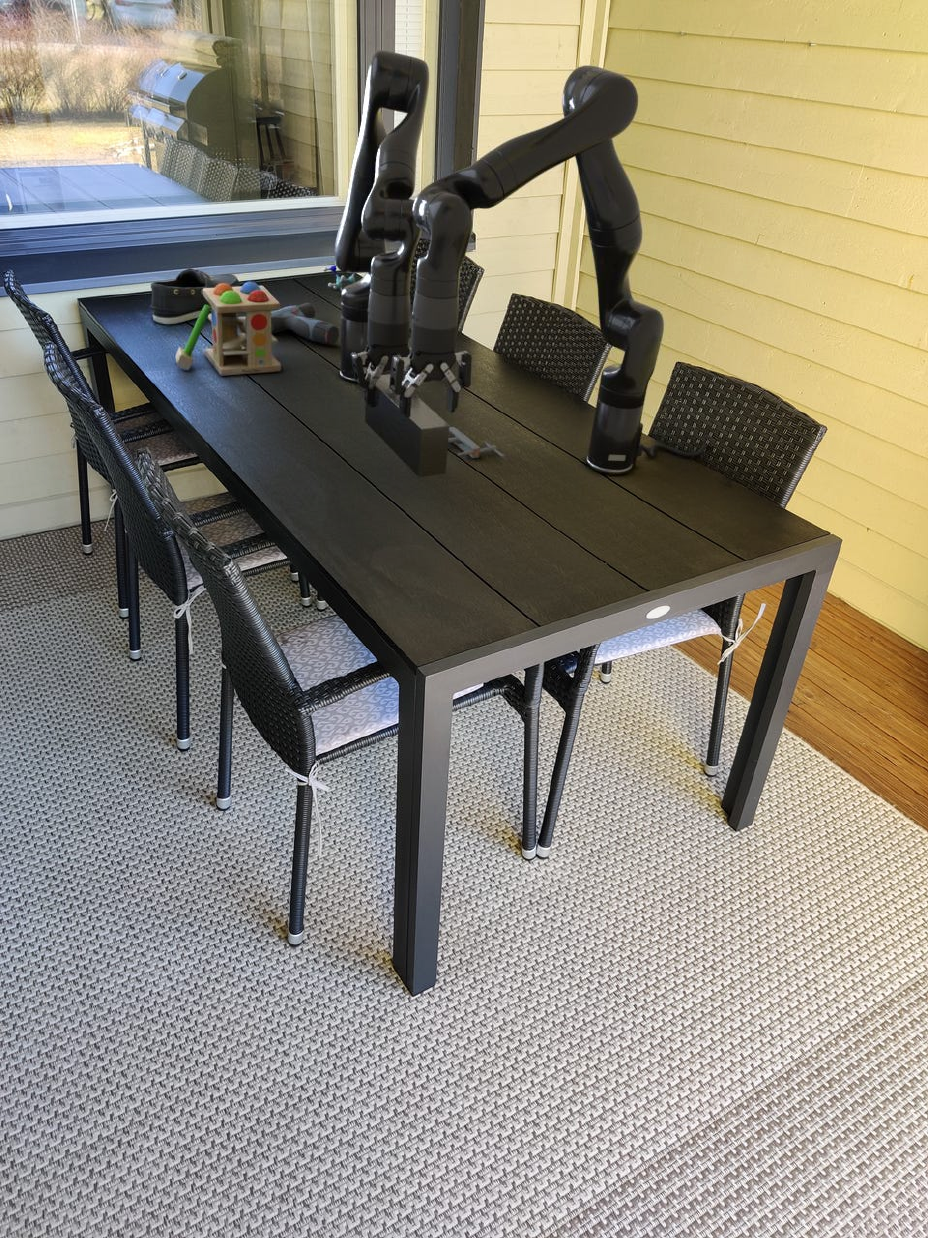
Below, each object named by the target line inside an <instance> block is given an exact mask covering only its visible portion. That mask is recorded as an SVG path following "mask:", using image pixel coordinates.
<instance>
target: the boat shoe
mask: <svg viewBox="0 0 928 1238" xmlns="http://www.w3.org/2000/svg"><path fill="white" fill-rule="evenodd" d="M221 283H226V284H228V285H230V286H231V287H242V286H241V282H240V281H239V279H238V277H237V276H236V275H235V274H232V273H224V274H217V275H214V276H209V275H208V274H207V273H206V272H204V271H203V270H199V269H194V268H186V269H183V270H182V271H181V272H179V273H178V274H177V276H176V277H175V279H173V280H172V279H171V280H165V281H161V280H159V281H153V282H151V283H150V289H151V304H150V308H151V309H152V310H153V312H152V318H153V321H154V322H157V323H158V324H164V325H175V324H180V323H183V322H187V321H190V320H195V319H198V318H199V316H200V314H201V311H202V309H203V307H204V305H208V306H210V307H211V305H210V304H209V302H208V301H207V300H206V299H205V297H204V296H203V289H204V288H215V287H216V286H217V285H218V284H221ZM210 312H211V310H210Z"/></svg>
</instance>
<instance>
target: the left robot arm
mask: <svg viewBox="0 0 928 1238" xmlns="http://www.w3.org/2000/svg"><path fill="white" fill-rule="evenodd" d="M429 88H430V68H429V65H428V63H427V62H426V61H425V60H424V59H421V58H419V57H415V56H412V55H411V56H410V55H407V54H402V53H399V52H396V51H395V52H394V51H390V50H386V49H379V50H376V51H375V52H374V54H373V55H372V57H371V58H370V62H369V66H368V70H367V76H366V82H365V91H364V92H365V93H364V100H363V106H362V107H363V108H362V115H361V122H360V128H359V132H358V133H359V134H358V138H357V143H356V147H355V151H354V156H353V160H352V165H351V170H350V177H349V183H348V190H347V195H346V200H345V206H344V210H343V213H342V217H341V220H340V223H339V227H338V231H337V233H336V238H335V242H334V243H335V244H334V263H335V262H336V265H337V266H336V268H337V269H338V270H340V271H341V272H343V273H346V274H353V273H355V274H364V276H363V277H362V278H360V279H359V280H357V281H355V283H353V284H352V283H350V284H349V285H347V286H345V287H343V288H342V289H343V290H342V291H341V307H340V308H341V310H340V311H341V312H340V314H341V315H340V322H341V323H340V370H339V376H340V377H341V378H342V380H345V381H348V382H352V383H357V384H358V385H359V387H361V388H364V398H363V399H364V402H365V404H366V403H367V404H368V406H369V407H370V408H372V407H374V406H375V389H374V387H375V385H376V383H377V380H378V379H379V378H380V376H381V375H383V373H387V372H391V364H392V357H393V356H394V355H397V356H399V357H409V355H410V353H411V347H410V346H409V342H410V341H409V340H410V333H411V330H412V326H411V327H410V325H411V324H410V323H411V279H412V277H411V276H412V268H413V267H412V266H413V261H414V256H415V253H416V249H417V246H418V243H419V241H420V238H421V234H422V232H423V230H421V229H420V228H419V227H418V226H417V225H416V223H415V221H414V219H413V214H412V210H413V204H414V202H415V199H412V196H413V195H414V192H415V189H416V176H417V175H416V174H417V158H418V150H419V145H420V140H421V135H422V130H423V125H424V119H425V113H426V108H427V103H428V101H427V100H428V96H429V90H430V89H429ZM382 109H384V110H390V111H393V112H398V113H403V114H405V117H404V118H403V119H402V120H401V121H400V123H398V124H397V125H396V126H395V127H394V128H393V129H392V130H391V131H390V132H389V133H388V131H387V128H386V126H385V123H384V119H383V114H382ZM390 242H391V243H401V246H399V248H398V249H397V250H394V251H390V252H387V243H390ZM410 369H411V367H410V365H408V366H407V368H406V370H405V371H404V373H403V381H404V380H405V376H406V375H407V373H408V372H409V370H410ZM416 377H417V376H416V375H415V377H414V379H415V378H416ZM402 383H403V382H402Z"/></svg>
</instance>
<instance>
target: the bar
mask: <svg viewBox="0 0 928 1238" xmlns="http://www.w3.org/2000/svg"><path fill="white" fill-rule="evenodd" d="M389 383H390V373H389V374H381V376H380V378H379V379H378V380H377V383H376V385H375V387H374V389H375V406H374V407H372V408H370V407H369V406H368V404H367V403H366V402H365V412H364V413H365V415H364V416H365V417H364V419H365V420H364V423H365V424H366V425H367V426H368V427H369V428H370V429H371V430H372V431H373V432H374V433H375V434H376V435H377V436H378V437H379V438H380V439H381V440H382V441H383V442H384V443H385V444H386V446H388V447H389V449H391V450H392V452H394V454H395V455H396V456H397V457H398V458H399V459H400V460H401V461H402V462H403V463H404V464H405V465H406V466H407V467H408V469H410V470H411V471H412V472H413V473H414V474H415V476H416V477H418V478H424V477H431V476H437V475H444V474H446V473H447V463H448V462H447V461H448V451H449V450H448V449H449V443H448V438H449V427H450V424H448V423H447V422H446V421H445V420H444V419H443V418H442V417H441V416H440V415H438V413H436V412H435V411H434V410H433V409H431V407H429V405H428V404H427V403H425V402H424V401H423V400H422V399H421V398H420V397H418V396H417V395H416V394H415V392H413V393H412V394H411V395H410V396H411V414H410V417H405V416H404V415H403V414H402V413H401V412H400V410H399V398H400V395H397V394H395V393H394V392H393V391H392V390H391V389H390V388H389Z"/></svg>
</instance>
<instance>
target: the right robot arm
mask: <svg viewBox="0 0 928 1238" xmlns="http://www.w3.org/2000/svg"><path fill="white" fill-rule="evenodd" d="M561 98H562V99H561V104H562V114H563V117H562V118H561V119H559V120H557V121H555V122H553V123H551V124H548V125H546V126H543V127H541V128H538V129H535V130H532V131H530V132H526V133H523V134H521V135H518V136H515V137H512V138H510V139H509V140H506V141H505V142H502V143H501V144H499V145H498V146H496V147H495V148H493V149H492V150H490V151H489V152H487V153H486V154H484V155H483V156H482V157H480V158H479V159H477V160H476V161H475V162H473V163H472V164H471V165H469V166H467V167H465V168H463V169H459V170H457V171H454V172H452V173H450V174H448V175H446V176H444V177H441V178H439V179H437V180H435V181H433V182H431V183H430V184H428V185H426V186H425V187H424V188H423V189H422V190H421V191H420V192H419V193H418V194H417V196H416V198H415V199H414V200H415V202H414V204H413V210H412V214H413V219H414V221H415V223H416V225H417V226H418V227H419V228H420V229H421V230H422V232H425V233H426V234H428V235H430V243H429V247H428V250H427V251H426V252H424V253H422V254H421V255H420V256H419V257H418V259H417V263H416V271H415V272H416V274H415V289H414V297H413V302H412V313H411V327H412V330H411V331H410V348H411V353H410V355H408V356H407V357H399V356H397V355H394V356H393V357H392V364H391V371H390V373H389V374H390V383H389V388H390V389H391V390H392V391H393V392H394V393H395V394H397V395H400V398H399V410H400V412H401V413H402V414H403V415H404V416H405V417H410V414H411V396H410V395H411V394H412V393H414V392H415V390H416V389H417V388H419V387H420V386H421V385H422V383H423V382H424V383H429V382H432V381H436V382H441V381H443V379H444V381H445V382H446V384H447V385H448V388H447V390H446V400H445V401H446V402H445V409H446V411H448V412H449V413H455V412H456V409H458V407H459V397H460V392H461V391H462V389H467V388H470V387H471V383H472V362H473V361H472V359H473V357H472V355H471V354H470V352H468V351H466V350H465V349H460V350H459V352H455V351H456V348H457V335H458V324H459V312H460V302H459V296H460V295H459V293H460V281H461V268H462V266H463V265H462V264H463V263H464V260H465V257H466V253H467V251H468V247H469V244H470V241H471V237H472V233H473V232H472V231H473V226H474V223H473V222H474V220H473V219H474V218H473V212H472V211H473V210H478V209H482V210H488V209H492V208H494V207H496V206H497V205H499V204H500V203H502V202H504V201H505V200H506V199H508V198H509V197H511V196H512V195H514V194H515V193H516V192H518V191H519V190H520V189H522V188H523V187H525V186H527V184H529V183H530V182H532V181H533V180H534V179H537V178H538V177H539V176H541V175H544V173H547V172H548V171H550V170H552V169H553V168H555V167H557V166H559V165H561V164H563V163H565V162H567V161H569V160H570V159H573V158H575V162H576V166H577V171H578V177H579V184H580V189H581V194H582V200H583V206H584V210H585V218H586V219H585V220H586V225H587V231H588V238H589V242H590V246H591V251H592V258H593V265H594V272H595V278H596V286H597V301H598V302H597V303H598V318H599V319H598V321H599V328H600V333H601V336H602V338H603V340H604V341H605V342H606V343H607V344H608V345H609V346H611V347H613V348H614V349H618V350H619V351H622V352H623V353H624V354H623V357H622V361H621V363H615V364H610V365H607V366H605V367H603V369H602V371H601V375H600V380H599V386H598V393H597V398H596V405H595V410H594V417H593V423H592V427H591V434H590V441H589V446H588V452H587V455H586V461H585V463H586V465H587V466H588V468H589V469H591V470H592V471H595V472H597V473H600V474H604V475H611V476H622V475H626V474H628V473H630V472H631V471H632V470H633V469H635V468H636V464H637V459H638V457H641V456H642V455H643V452H644V453H645V454H646V456H647V457H648V458H650V459H652V458H654V456H655V450H656V449H657V450H658V449H662V450H666V451H669V452H671V453H674V454H676V455H678V456H682V457H686V458H696V457H698V456H700V455H702V454H703V453H704V452H705V451H706V449H707V448H708V449H712V448H713V446H712V447H710V446H707V445H706V444H704V443H703V444H702V446H701V447H700V449H699V450H697V451H695V452H685V451H683V450H680V449H678V448H675V447H672V446H670V445H666V444H661V443H660V444H659V443H657V444H654V445H652V446H651V447H650V450H649V448H648V447H646V446H644V444H642V443H641V438H642V433H643V430H644V429H643V428H644V424H643V423H642V422H641V421H642V415H643V410H644V407H645V400H646V397H647V396H646V395H647V391H648V385H649V382H650V380H651V379H652V377H653V374H654V372H655V369H656V364H657V361H658V355H659V353H660V349H661V345H662V341H663V336H664V331H665V320H664V316H663V314H662V312H661V311H660V310H658V309H657V308H655V307H652V306H650V305H647V304H644V303H642V302H639V301H637V300H635V298H634V297H633V295H632V290H631V286H630V270H631V267H632V265H633V263H634V262H635V259H636V258H637V256H638V253H639V251H640V248H641V246H642V243H643V224H642V218H641V216H642V215H641V209H640V203H639V199H638V196H637V193H636V191H635V188H634V186H633V184H632V182H631V180H630V178H629V176H628V174H627V172H626V171H625V167H624V166H623V164H622V163H621V159H620V158H619V156H618V153H617V150H616V147H615V144H614V140H613V139H614V138H616V137H617V136H619V135H621V134H622V133H623V132H625V131H626V130H627V129H628V127H630V125H631V124H632V123H633V121H634V119H635V117H636V114H637V111H638V107H639V93H638V89H637V88H636V85H635V84H634V83H633V82H632V81H631V79H630V78H628V77H626V76H624V75H622V74H621V73H618V72H615V71H611V70H608V69H605V68H603V67H599V66H596V65H581V66H579V67H577V68H575V69H574V70H573V71H572V72H571V73H570V74H569V76H568V77H567V79H566V81H565V84H564V87H563V91H562V97H561ZM456 363H457V365H458V370H457V371H458V372H457V374H458V375H457V376H458V377H457V378H456V376H455V375H454V373H453V372H452V371H451V369H452V368H453V367H454V365H455V364H456ZM408 365H410V367H411V369H410V370H409V372H408V373H407V372H406V374H407V375H406V376H405V380H404V381H403V373H404V371H407V368H408ZM415 375H416V376H417V377H416V378H415V379H414V377H415ZM402 382H403V383H402Z"/></svg>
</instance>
